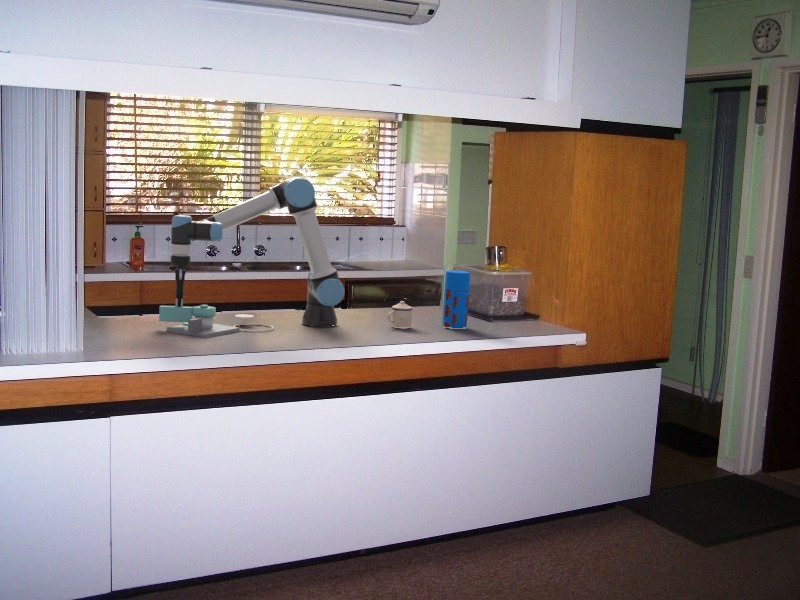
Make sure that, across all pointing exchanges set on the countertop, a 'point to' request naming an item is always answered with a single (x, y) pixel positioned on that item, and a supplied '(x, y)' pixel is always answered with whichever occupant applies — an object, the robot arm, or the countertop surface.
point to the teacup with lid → (400, 315)
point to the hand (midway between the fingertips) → (178, 314)
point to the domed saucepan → (184, 313)
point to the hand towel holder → (246, 316)
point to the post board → (202, 328)
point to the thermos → (456, 299)
